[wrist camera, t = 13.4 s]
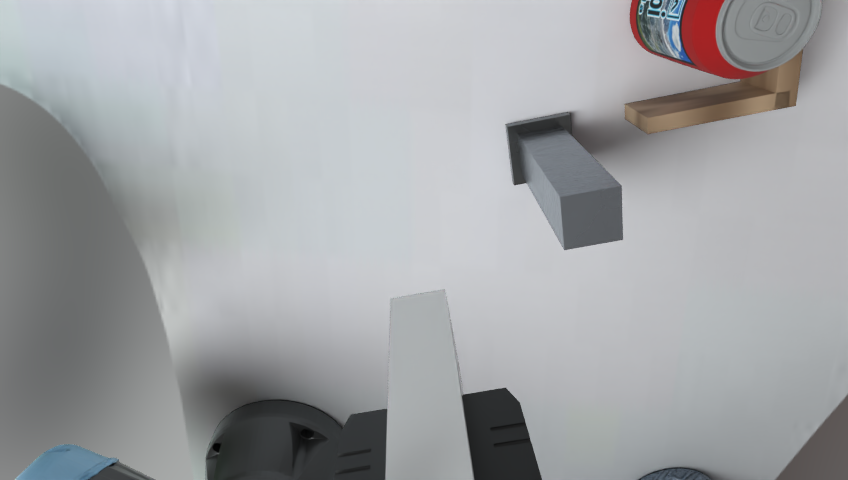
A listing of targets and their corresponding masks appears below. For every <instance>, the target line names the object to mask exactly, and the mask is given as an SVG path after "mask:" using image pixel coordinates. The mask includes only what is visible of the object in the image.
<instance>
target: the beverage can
mask: <svg viewBox="0 0 848 480" xmlns="http://www.w3.org/2000/svg"><path fill="white" fill-rule="evenodd" d="M821 12H822V0H632V3H631V8H630V24H631V29H632V32H633V34H634V37H635V39H636V40H637V42H638V43H639V44H640V45H641V46H642V47H643V48H644V49H645V50H647V51H648V52H650V53H652V54H655V55H657V56H660V57H663V58H666V59H668V60H671V61H674V62H677V63H680V64H683V65H686V66H689V67H692V68H695V69H698V70H701V71H704V72H707V73H710V74H714V75H717V76H720V77H723V78H728V79H744V78H750V77H753V76H757V75H760V74H762V73H764V72H766V71H768V70H770V69H773V68H776V67H779V66H781V65H782V64H784V63H786V62H788V61H789V60H791V59H792V58H793V57H795V56H796V55H797V54H798V53H799V52H800V51H801V50H802V49H803V48H804V47H805V46H806V44H807V43H808V42H809V40H810V39H811V37H812V36H813V34H814V32H815V30H816V28H817V26H818V23H819V20H820V17H821Z"/></svg>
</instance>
